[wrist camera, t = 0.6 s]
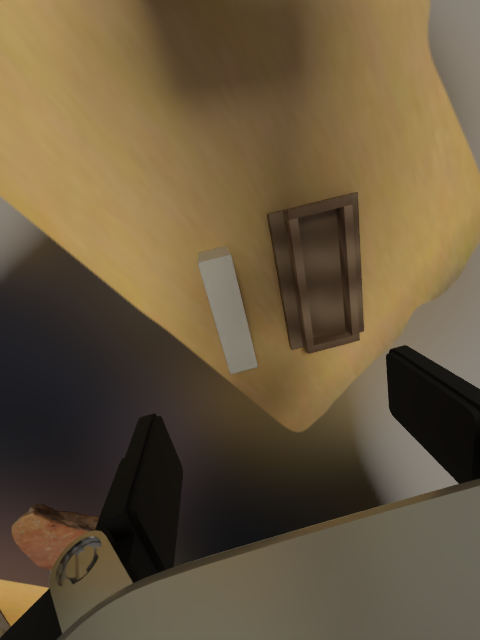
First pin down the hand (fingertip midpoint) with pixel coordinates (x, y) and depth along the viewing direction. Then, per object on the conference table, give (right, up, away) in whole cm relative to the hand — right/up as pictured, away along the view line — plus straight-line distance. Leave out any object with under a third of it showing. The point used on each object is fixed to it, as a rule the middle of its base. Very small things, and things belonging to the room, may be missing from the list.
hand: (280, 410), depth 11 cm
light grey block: (-4, +6, +26) cm, 27 cm away
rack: (+9, +9, +26) cm, 29 cm away
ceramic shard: (-32, -32, +39) cm, 60 cm away
